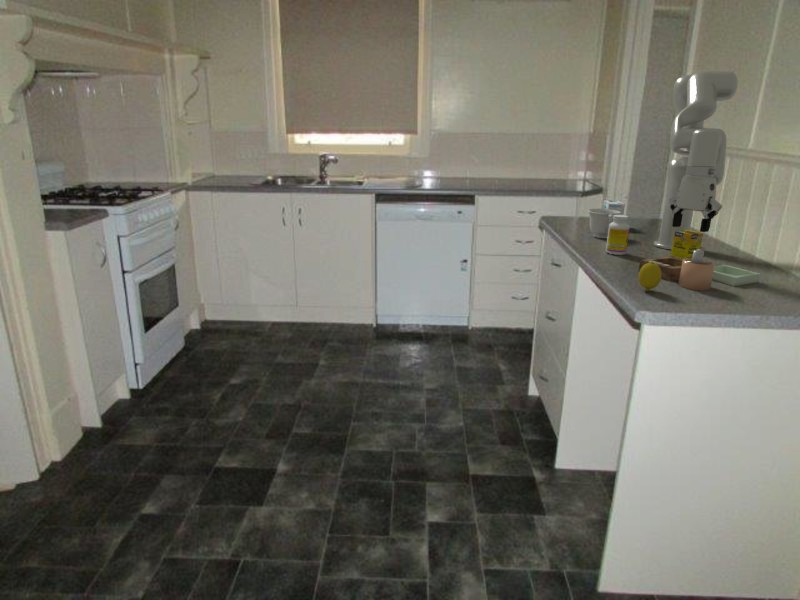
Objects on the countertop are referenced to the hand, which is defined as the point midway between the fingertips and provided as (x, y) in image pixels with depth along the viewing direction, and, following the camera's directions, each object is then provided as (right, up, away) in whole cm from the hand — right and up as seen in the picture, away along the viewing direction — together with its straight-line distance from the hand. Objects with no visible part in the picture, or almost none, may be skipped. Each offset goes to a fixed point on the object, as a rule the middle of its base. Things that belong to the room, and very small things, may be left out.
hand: (689, 229), depth 175 cm
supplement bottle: (-16, -6, +19) cm, 26 cm away
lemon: (-23, -19, -22) cm, 38 cm away
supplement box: (0, -11, +4) cm, 12 cm away
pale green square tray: (+6, -16, -10) cm, 19 cm away
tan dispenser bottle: (-8, -18, -17) cm, 26 cm away
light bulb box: (0, +9, +66) cm, 67 cm away
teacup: (-11, +2, +45) cm, 46 cm away
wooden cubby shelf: (-9, -14, -5) cm, 17 cm away
